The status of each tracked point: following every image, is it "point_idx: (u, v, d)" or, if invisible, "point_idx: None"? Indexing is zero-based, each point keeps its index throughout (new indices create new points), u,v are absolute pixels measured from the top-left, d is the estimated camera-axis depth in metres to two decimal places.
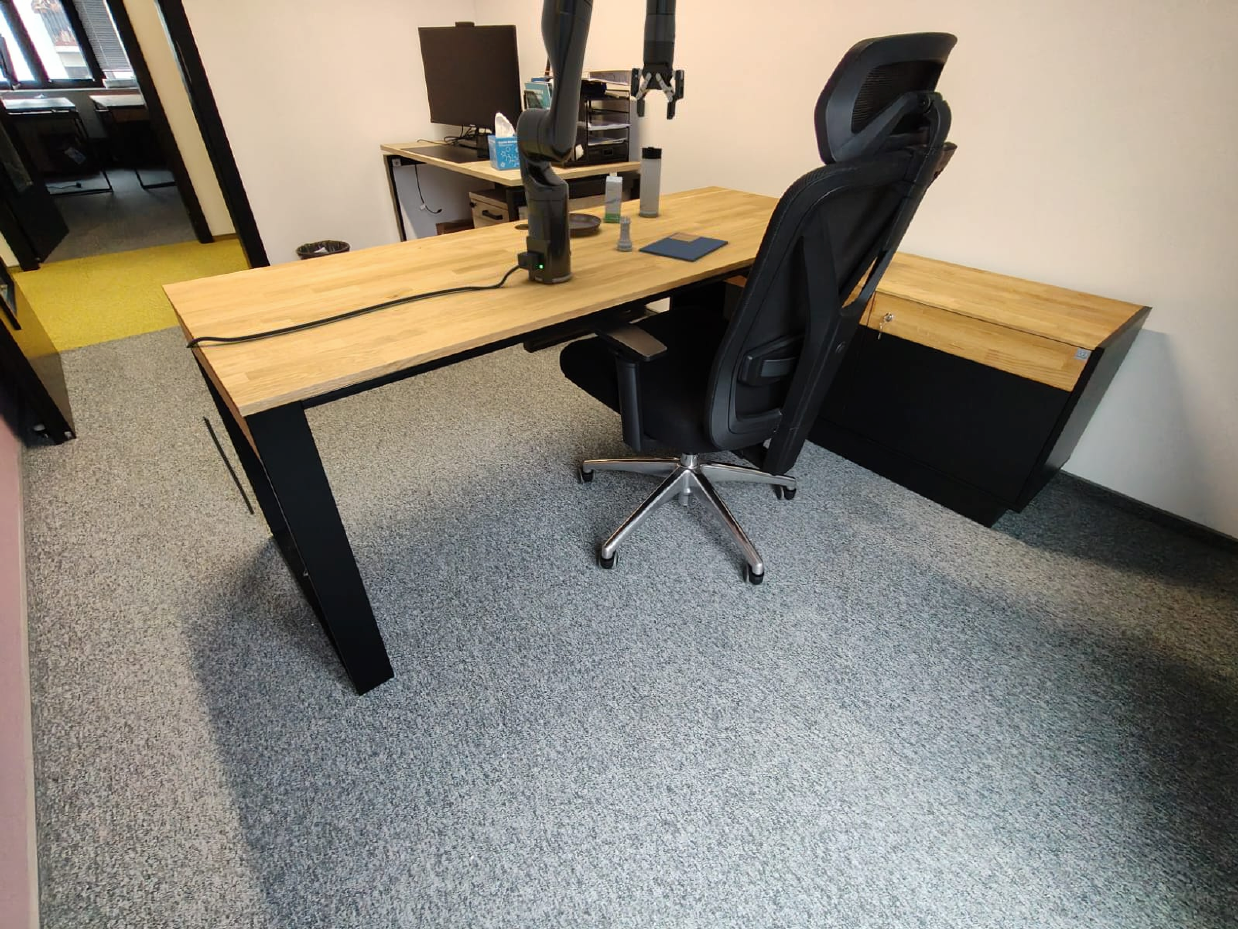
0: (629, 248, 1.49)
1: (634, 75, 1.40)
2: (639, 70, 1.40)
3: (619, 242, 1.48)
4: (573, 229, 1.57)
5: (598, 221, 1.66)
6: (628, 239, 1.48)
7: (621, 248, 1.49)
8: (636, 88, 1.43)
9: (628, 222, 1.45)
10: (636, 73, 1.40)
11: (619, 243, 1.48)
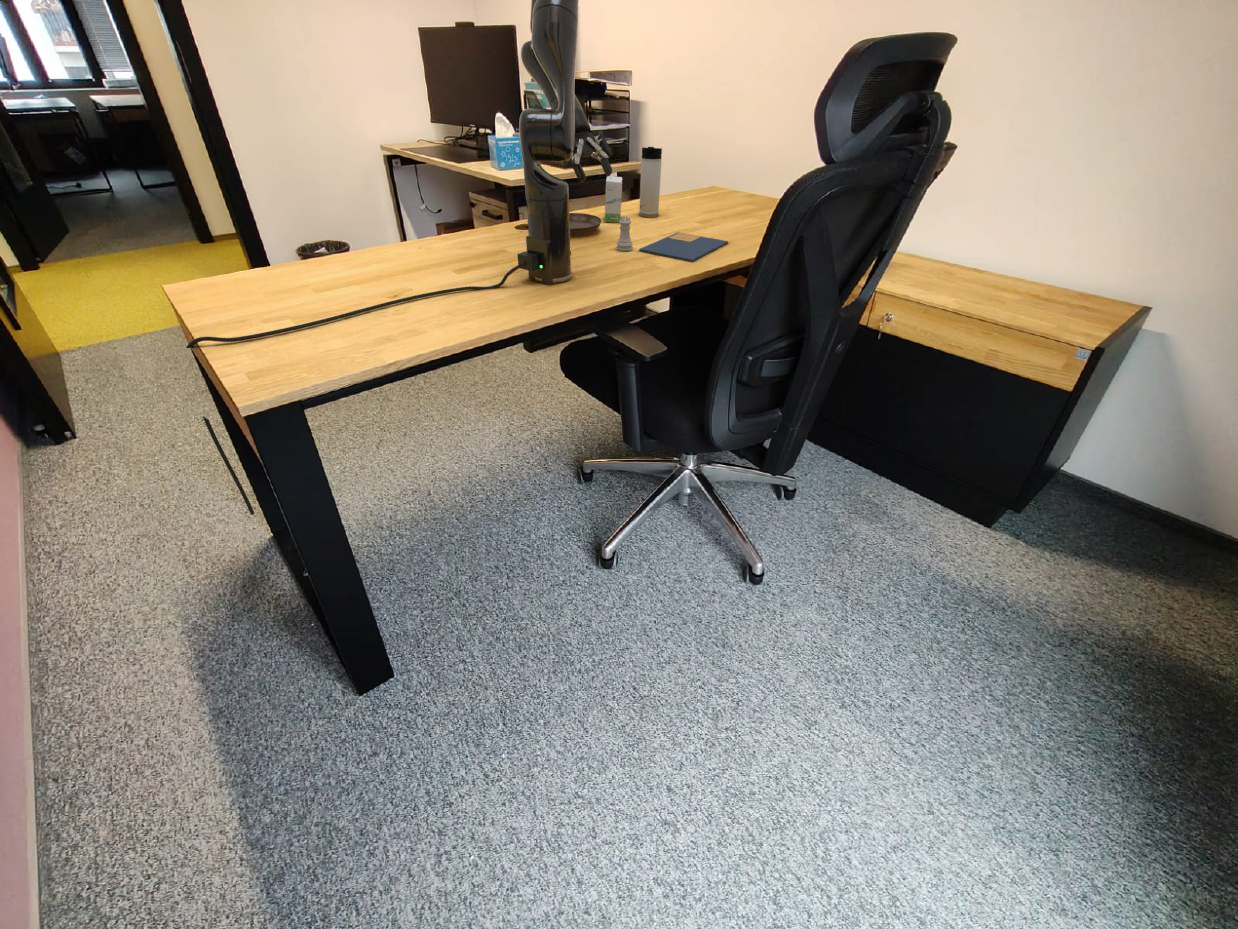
0: (629, 248, 1.49)
1: None
2: None
3: (619, 242, 1.48)
4: (573, 229, 1.57)
5: (598, 221, 1.66)
6: (628, 239, 1.48)
7: (621, 248, 1.49)
8: (565, 160, 1.43)
9: (628, 222, 1.45)
10: None
11: (619, 243, 1.48)
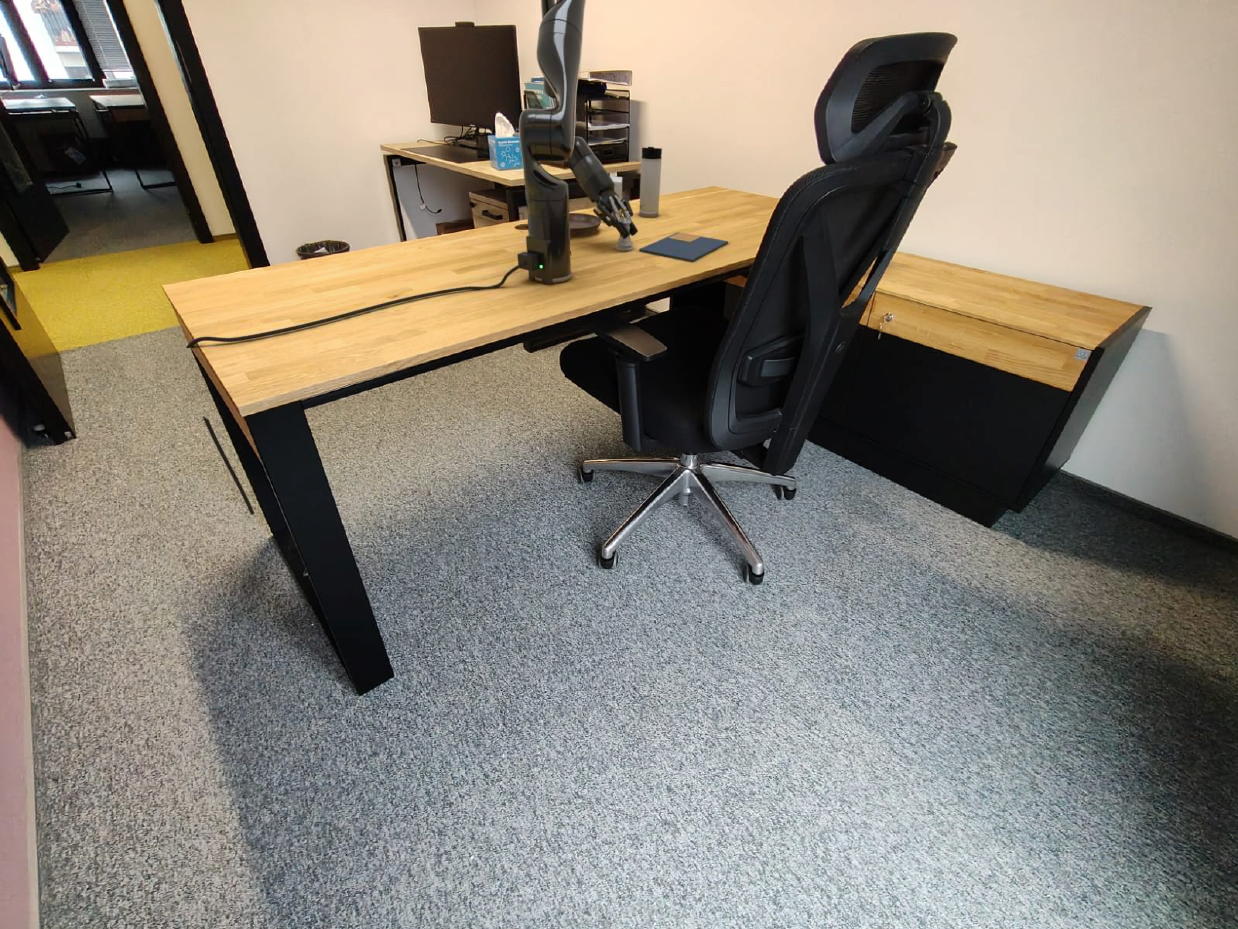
0: (629, 248, 1.49)
1: (603, 207, 1.42)
2: (599, 204, 1.42)
3: (619, 242, 1.48)
4: (573, 229, 1.57)
5: (598, 221, 1.66)
6: (628, 239, 1.48)
7: (621, 248, 1.49)
8: (606, 220, 1.44)
9: (628, 222, 1.45)
10: None
11: (619, 243, 1.48)
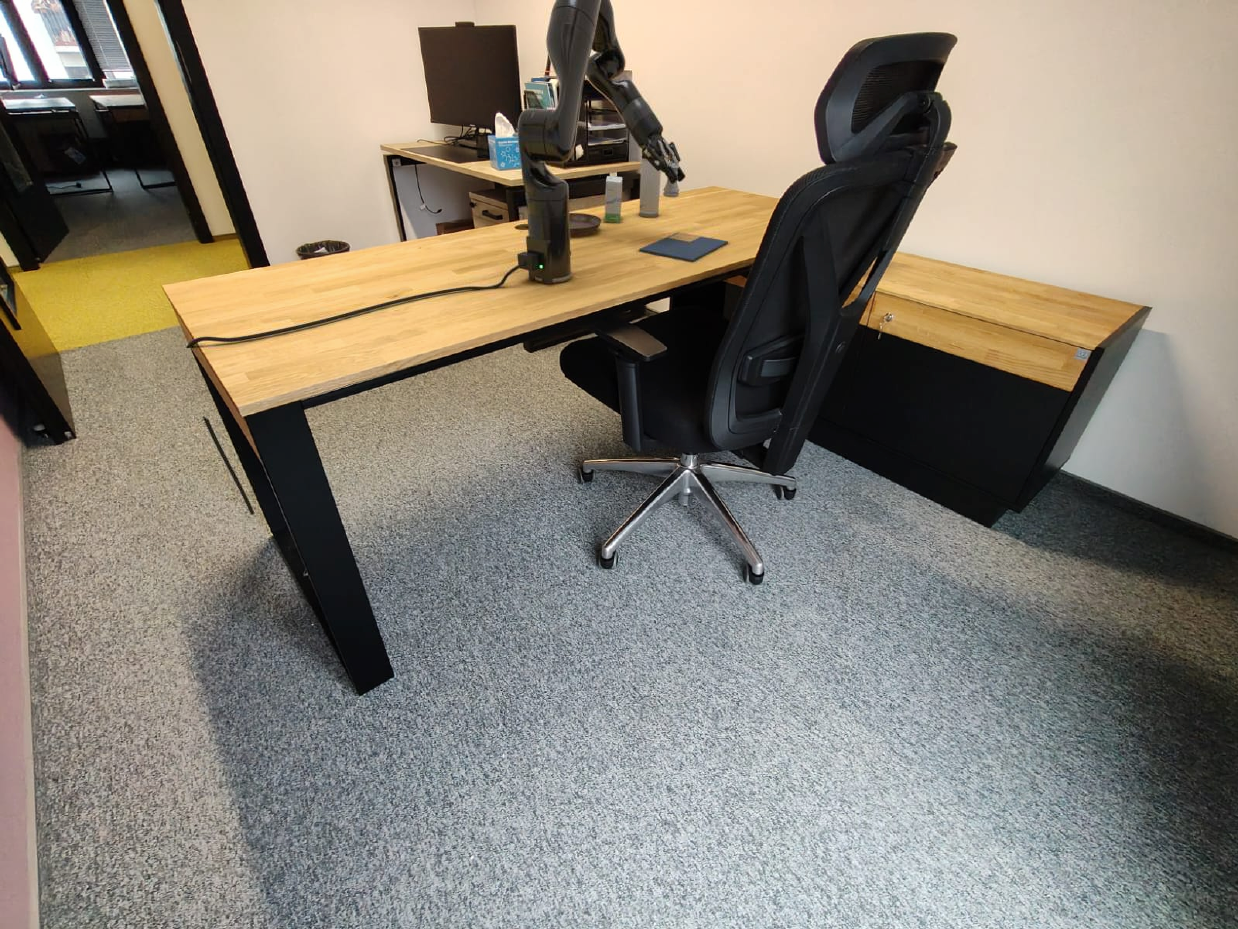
0: (676, 194, 1.49)
1: (653, 150, 1.41)
2: None
3: (666, 188, 1.48)
4: (573, 229, 1.57)
5: (598, 221, 1.66)
6: (675, 185, 1.48)
7: (668, 194, 1.48)
8: (655, 164, 1.44)
9: (676, 167, 1.45)
10: None
11: (666, 189, 1.48)
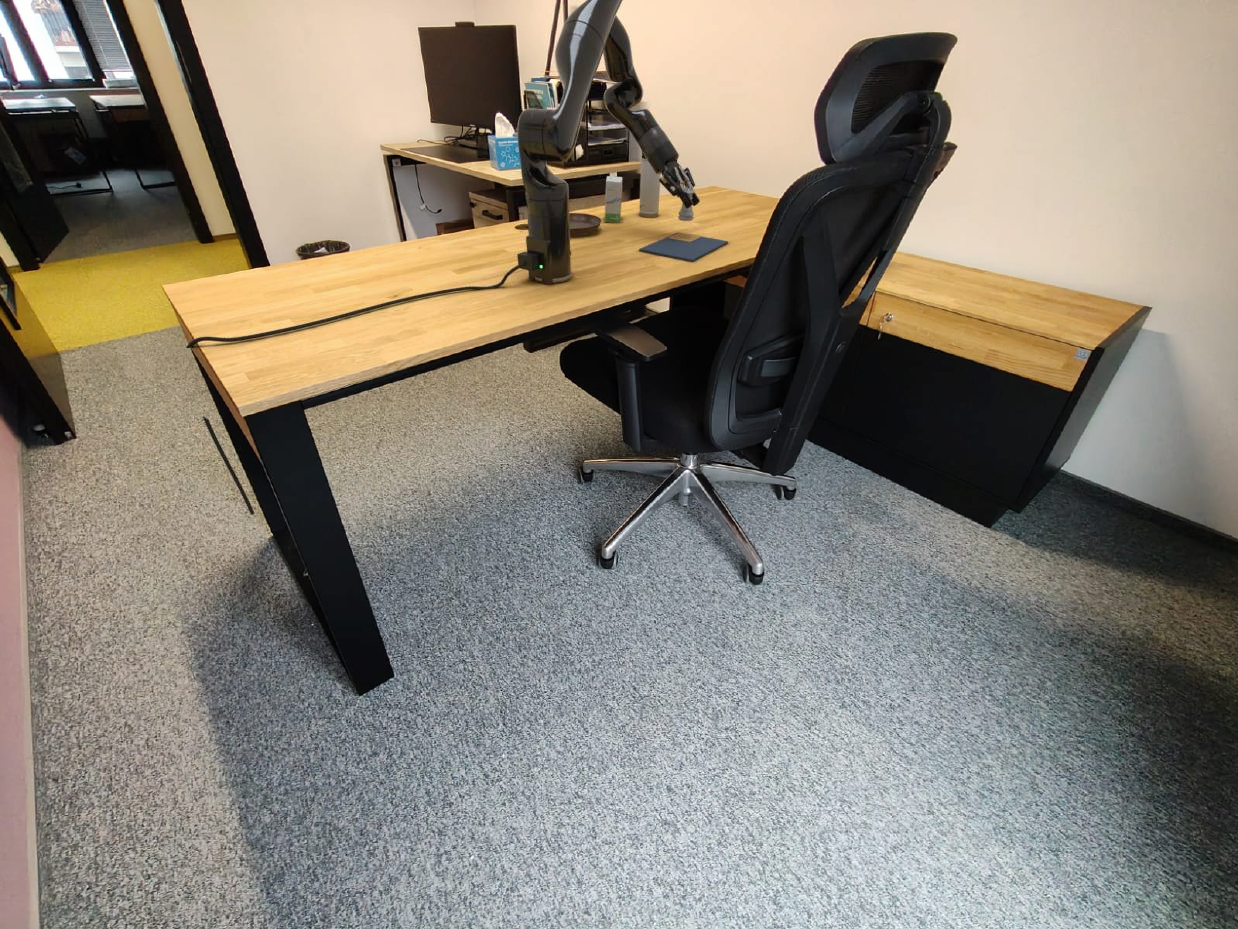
0: (691, 218, 1.55)
1: (669, 176, 1.47)
2: None
3: (681, 212, 1.54)
4: (573, 229, 1.57)
5: (598, 221, 1.66)
6: (690, 209, 1.54)
7: (683, 218, 1.54)
8: (671, 190, 1.50)
9: (691, 192, 1.51)
10: None
11: (681, 213, 1.54)
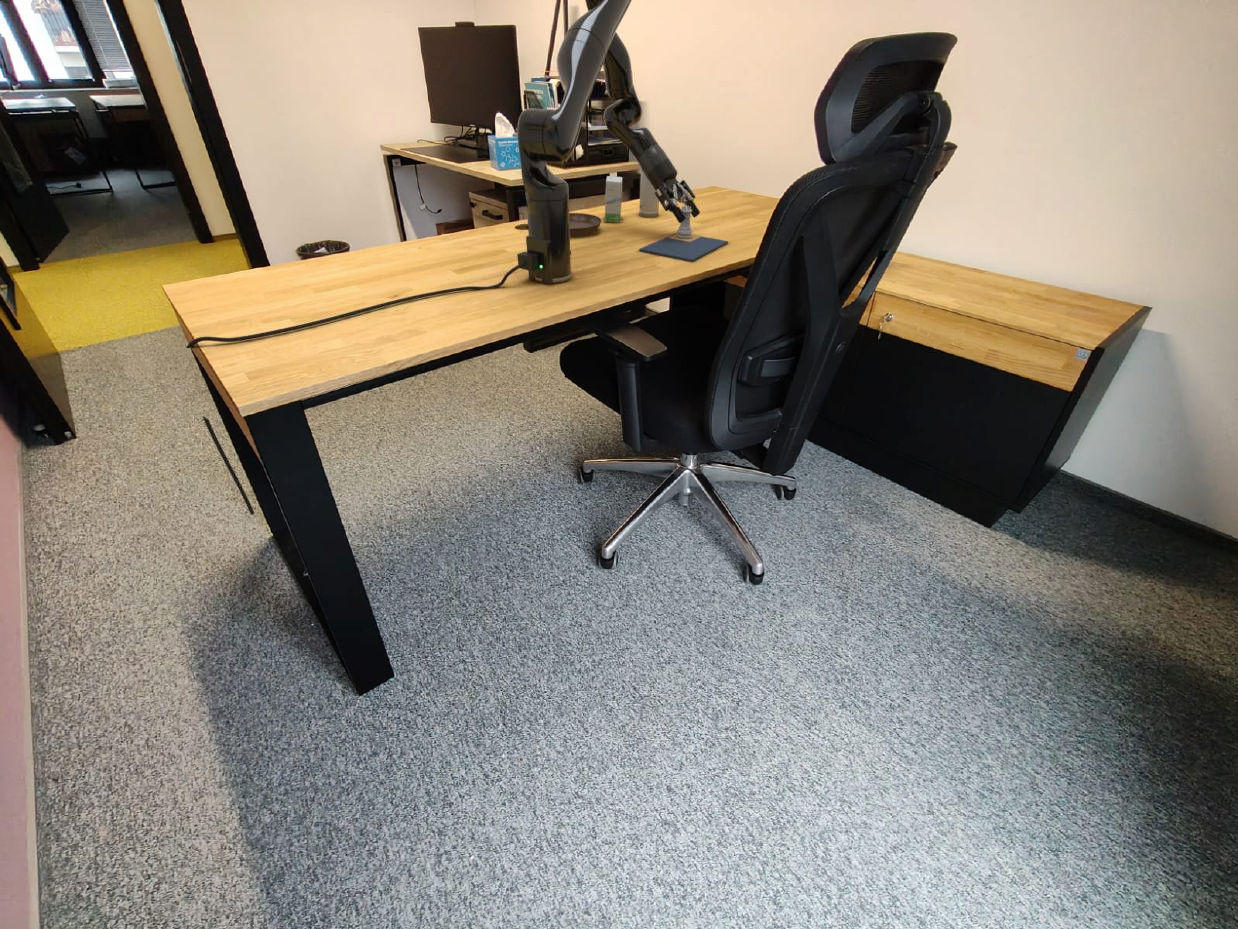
0: (689, 236, 1.57)
1: (664, 190, 1.49)
2: None
3: (680, 230, 1.57)
4: (573, 229, 1.57)
5: (598, 221, 1.66)
6: (688, 227, 1.56)
7: (682, 236, 1.57)
8: (665, 204, 1.51)
9: (689, 211, 1.54)
10: None
11: (680, 231, 1.57)
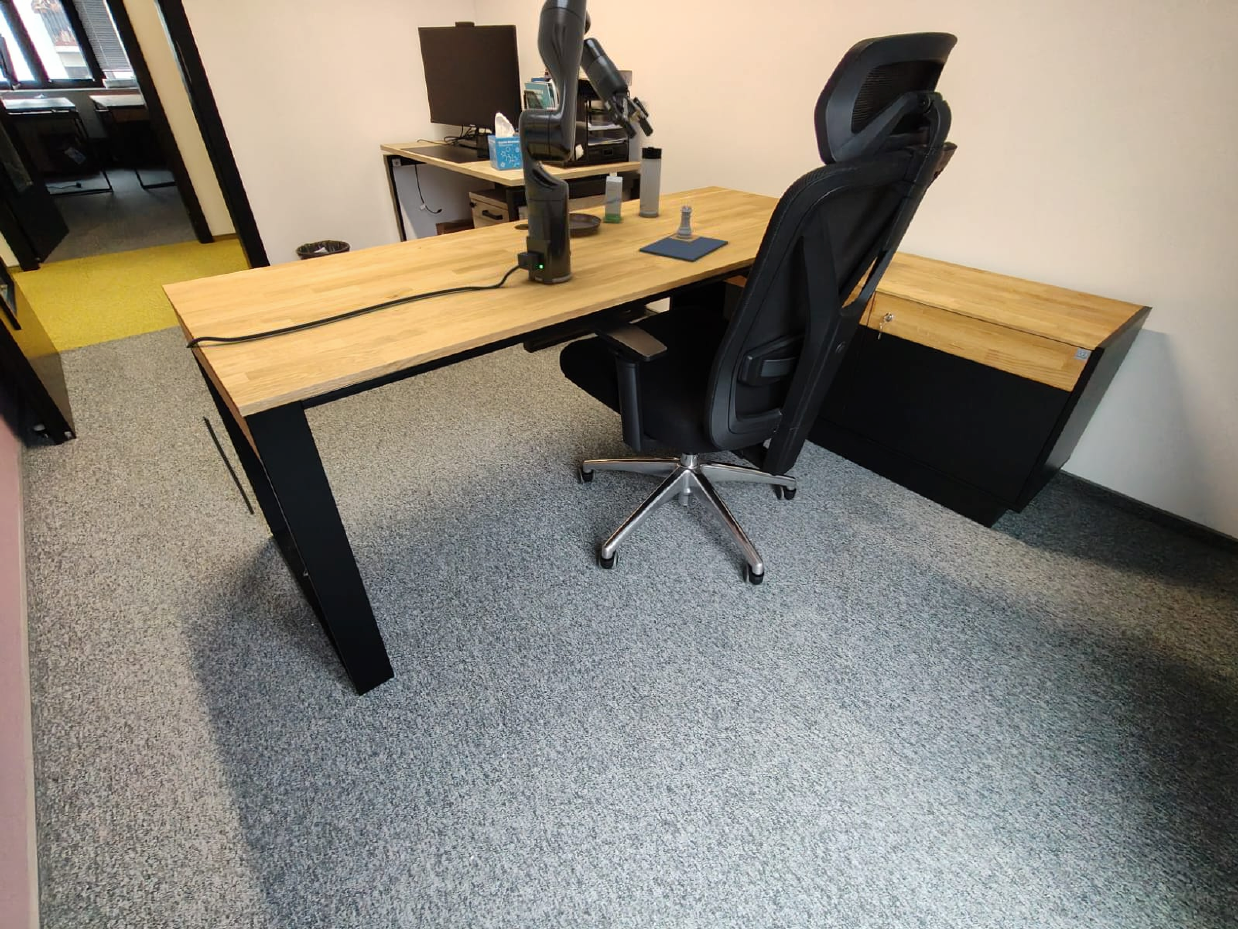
0: (689, 236, 1.57)
1: (613, 103, 1.42)
2: None
3: (680, 230, 1.57)
4: (573, 229, 1.57)
5: (598, 221, 1.66)
6: (688, 227, 1.56)
7: (682, 236, 1.57)
8: (614, 118, 1.43)
9: (689, 211, 1.54)
10: None
11: (680, 231, 1.57)
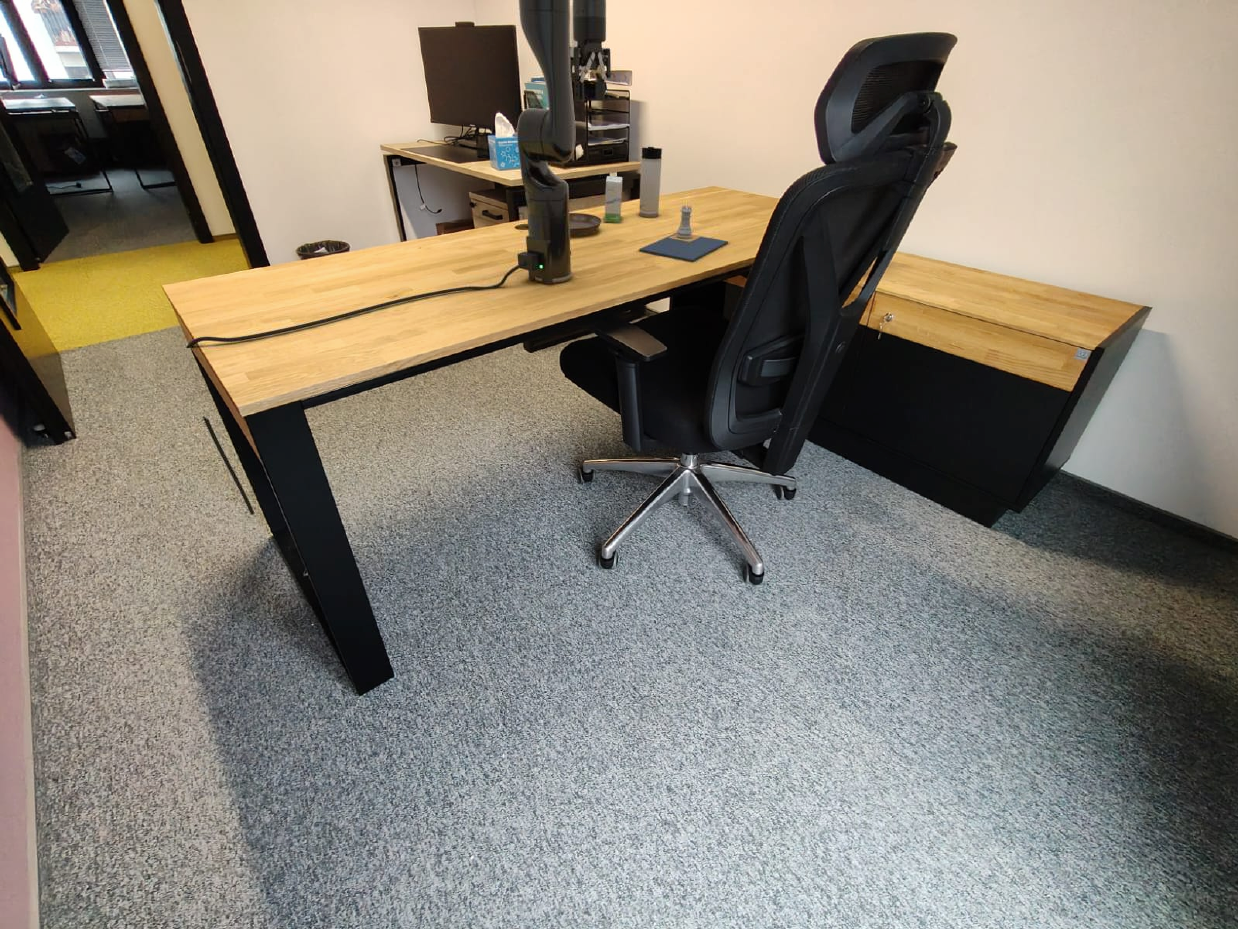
0: (689, 236, 1.57)
1: (578, 55, 1.26)
2: (578, 49, 1.26)
3: (680, 230, 1.57)
4: (573, 229, 1.57)
5: (598, 221, 1.66)
6: (688, 227, 1.56)
7: (682, 236, 1.57)
8: (570, 70, 1.28)
9: (689, 211, 1.54)
10: None
11: (680, 231, 1.57)
